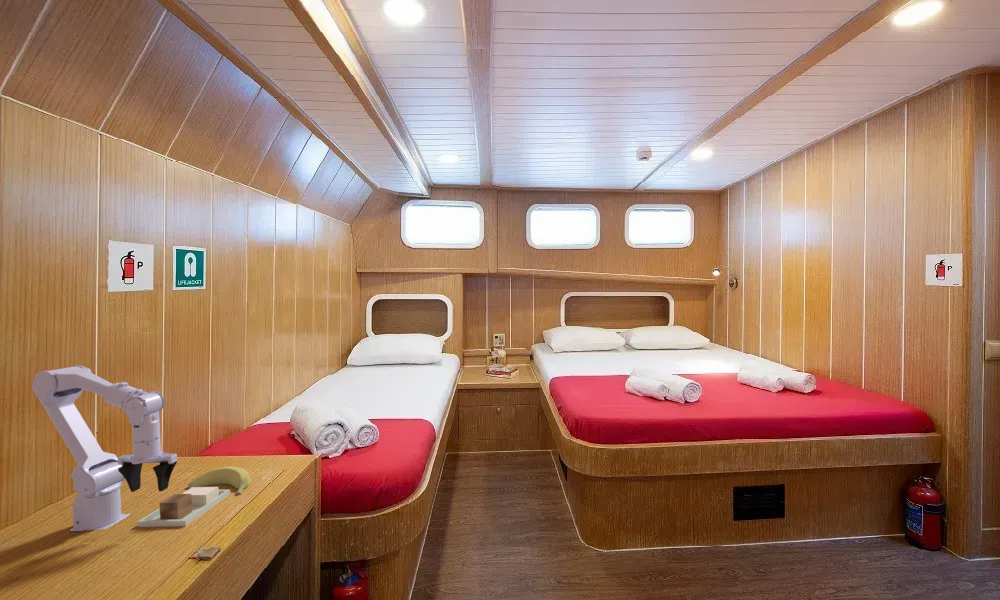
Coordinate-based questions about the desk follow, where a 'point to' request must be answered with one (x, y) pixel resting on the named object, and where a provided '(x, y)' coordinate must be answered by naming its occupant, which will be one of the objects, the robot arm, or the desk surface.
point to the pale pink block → (202, 494)
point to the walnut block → (176, 507)
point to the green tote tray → (197, 511)
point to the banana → (223, 478)
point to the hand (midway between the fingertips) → (149, 489)
